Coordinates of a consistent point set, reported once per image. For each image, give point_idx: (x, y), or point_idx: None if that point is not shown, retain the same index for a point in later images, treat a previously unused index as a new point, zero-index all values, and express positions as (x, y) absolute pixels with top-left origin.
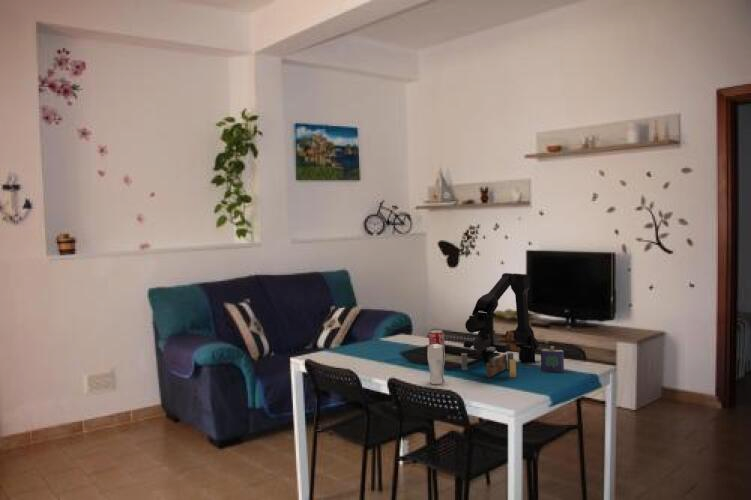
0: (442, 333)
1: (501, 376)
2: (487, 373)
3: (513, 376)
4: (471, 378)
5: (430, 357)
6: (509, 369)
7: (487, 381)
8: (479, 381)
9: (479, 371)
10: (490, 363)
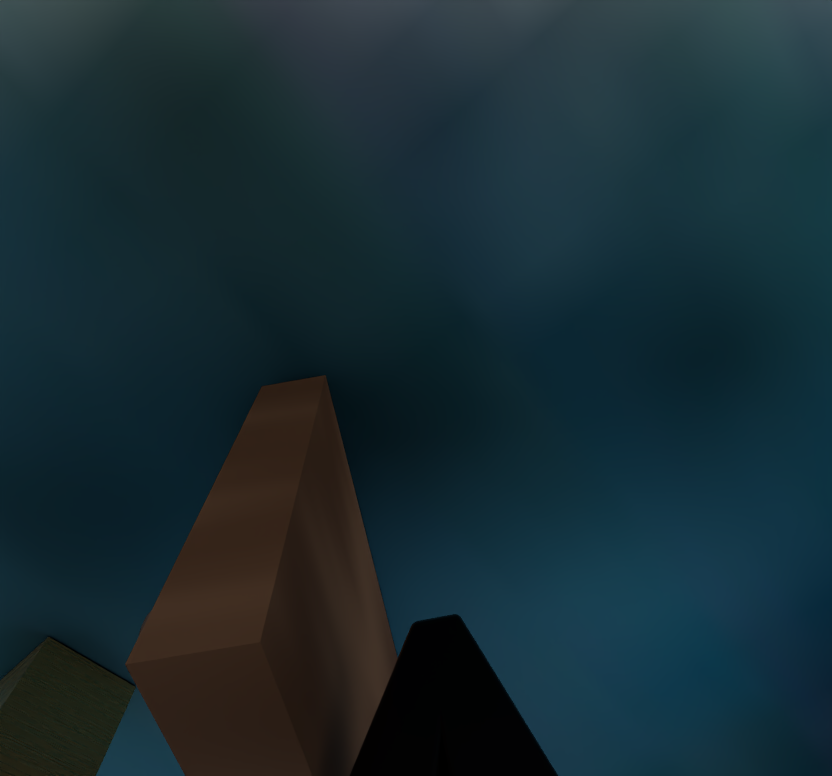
0: None
1: None
2: (292, 416)
3: (3, 680)
4: (574, 95)
5: None
6: None
7: (113, 162)
8: (250, 12)
9: (683, 570)
10: (187, 710)
